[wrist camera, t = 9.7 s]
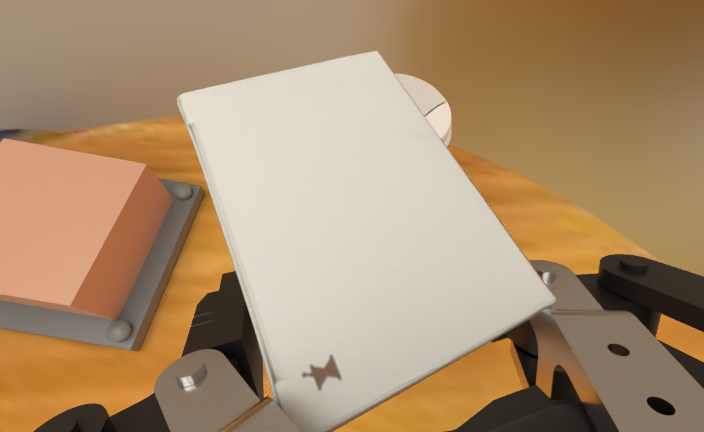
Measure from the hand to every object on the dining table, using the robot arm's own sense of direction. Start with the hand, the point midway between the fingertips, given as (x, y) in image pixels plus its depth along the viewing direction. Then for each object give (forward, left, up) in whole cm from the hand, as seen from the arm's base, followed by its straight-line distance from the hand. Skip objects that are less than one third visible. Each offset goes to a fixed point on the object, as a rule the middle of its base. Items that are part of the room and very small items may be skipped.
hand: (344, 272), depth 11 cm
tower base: (+5, +24, -21) cm, 32 cm away
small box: (0, 0, -6) cm, 6 cm away
